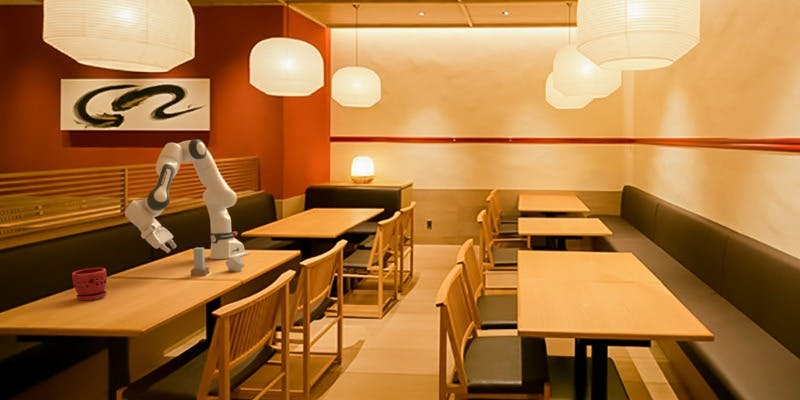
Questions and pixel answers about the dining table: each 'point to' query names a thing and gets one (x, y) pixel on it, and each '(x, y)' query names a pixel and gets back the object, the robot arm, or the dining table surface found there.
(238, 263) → the die
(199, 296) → the dining table surface
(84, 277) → the plant pot
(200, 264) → the column
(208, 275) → the mat
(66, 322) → the dining table surface
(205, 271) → the base block
